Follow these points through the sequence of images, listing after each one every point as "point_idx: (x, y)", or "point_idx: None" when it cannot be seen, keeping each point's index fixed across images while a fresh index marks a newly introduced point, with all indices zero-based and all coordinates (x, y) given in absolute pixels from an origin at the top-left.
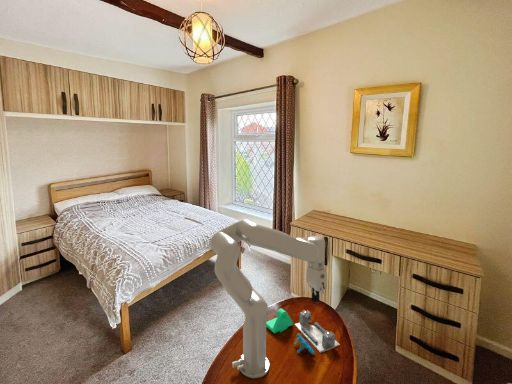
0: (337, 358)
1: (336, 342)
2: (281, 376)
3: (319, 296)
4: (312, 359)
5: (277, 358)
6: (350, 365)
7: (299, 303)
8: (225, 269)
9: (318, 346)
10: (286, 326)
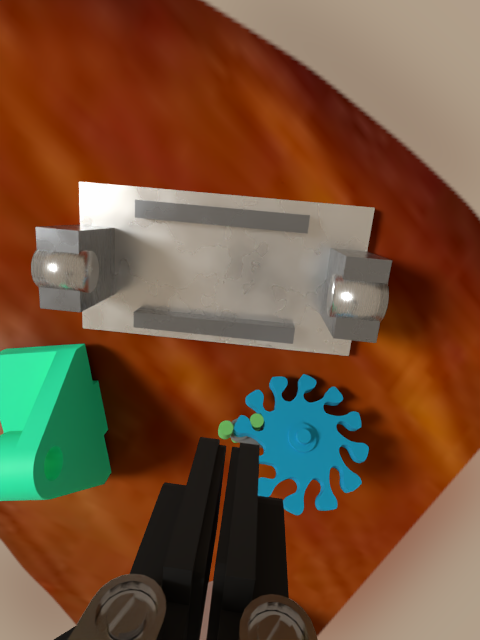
0: (432, 300)
1: (351, 214)
2: (352, 574)
3: (256, 506)
4: None
5: None
6: None
7: None
8: None
9: (314, 337)
10: (91, 395)
